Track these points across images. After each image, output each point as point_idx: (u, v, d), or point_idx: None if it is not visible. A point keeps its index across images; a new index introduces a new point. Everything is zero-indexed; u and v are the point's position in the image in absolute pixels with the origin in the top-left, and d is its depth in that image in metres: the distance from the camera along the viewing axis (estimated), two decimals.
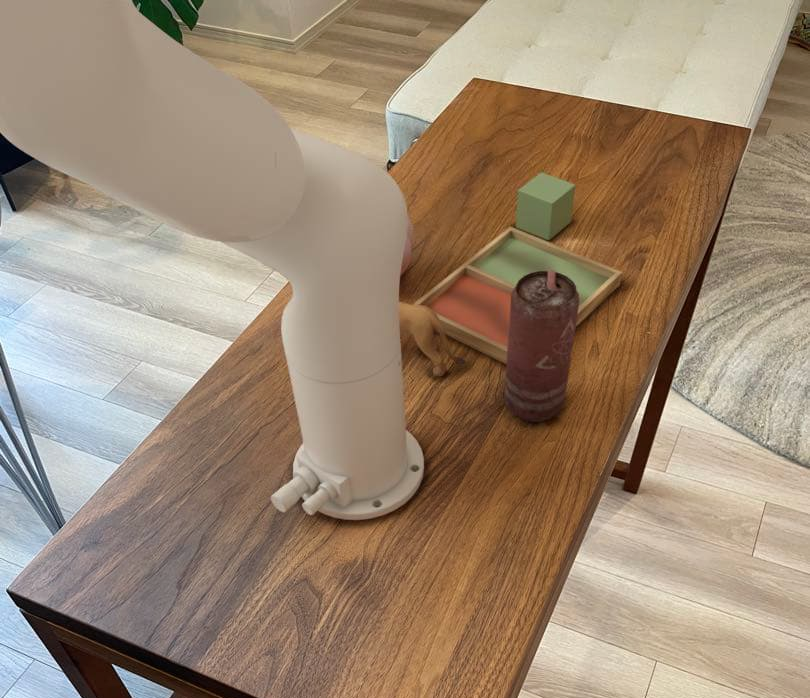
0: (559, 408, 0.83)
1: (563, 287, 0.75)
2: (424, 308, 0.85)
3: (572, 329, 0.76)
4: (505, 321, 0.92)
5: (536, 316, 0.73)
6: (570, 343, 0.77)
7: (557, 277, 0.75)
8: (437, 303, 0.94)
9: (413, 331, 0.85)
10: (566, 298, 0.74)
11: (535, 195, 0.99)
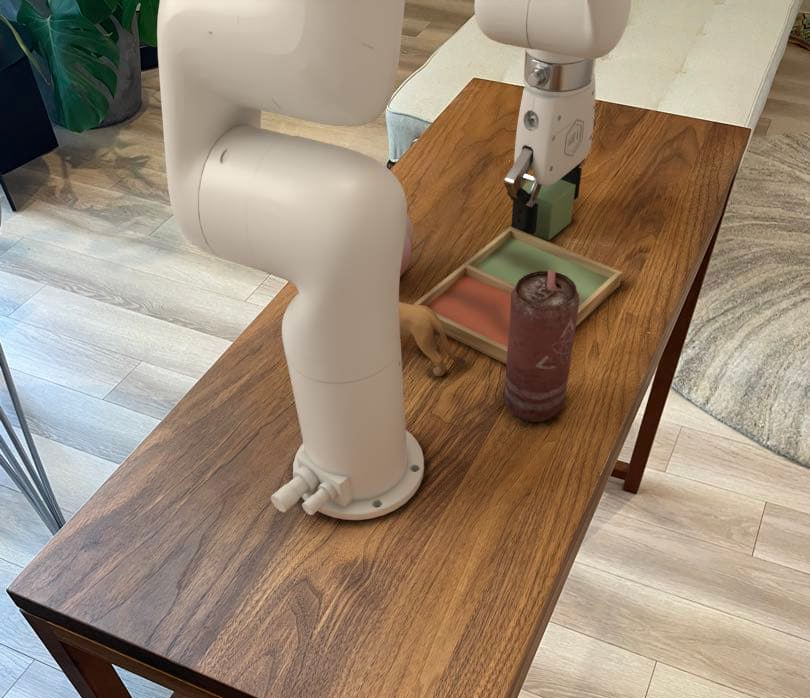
0: (559, 408, 0.83)
1: (563, 287, 0.75)
2: (424, 308, 0.85)
3: (572, 329, 0.76)
4: (505, 321, 0.92)
5: (536, 316, 0.73)
6: (570, 343, 0.77)
7: (557, 277, 0.75)
8: (437, 303, 0.94)
9: (413, 331, 0.85)
10: (566, 298, 0.74)
11: None
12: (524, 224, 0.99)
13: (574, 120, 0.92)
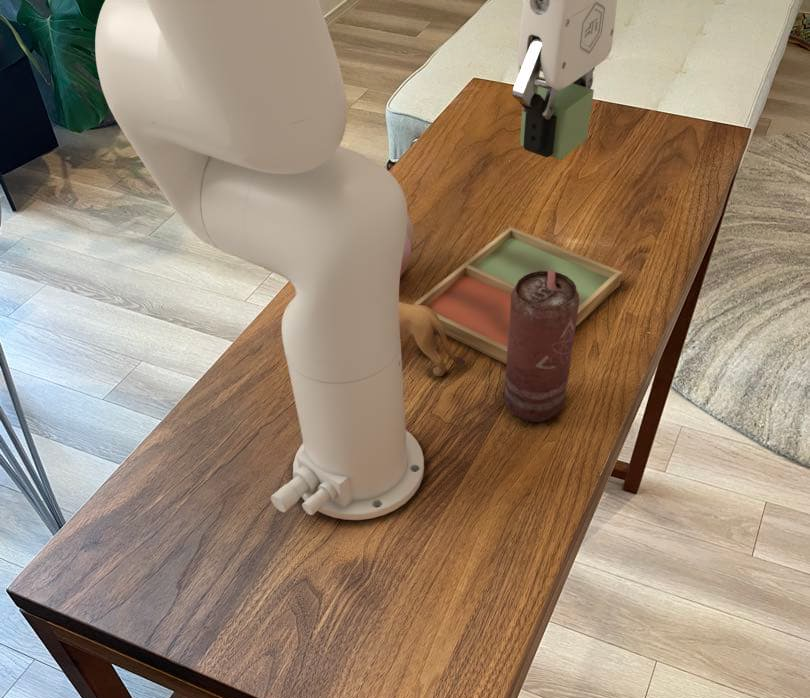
0: (559, 408, 0.83)
1: (563, 287, 0.75)
2: (424, 308, 0.85)
3: (572, 329, 0.76)
4: (505, 321, 0.92)
5: (536, 316, 0.73)
6: (570, 343, 0.77)
7: (557, 277, 0.75)
8: (437, 303, 0.94)
9: (413, 331, 0.85)
10: (566, 298, 0.74)
11: None
12: (539, 142, 0.82)
13: (593, 3, 0.74)
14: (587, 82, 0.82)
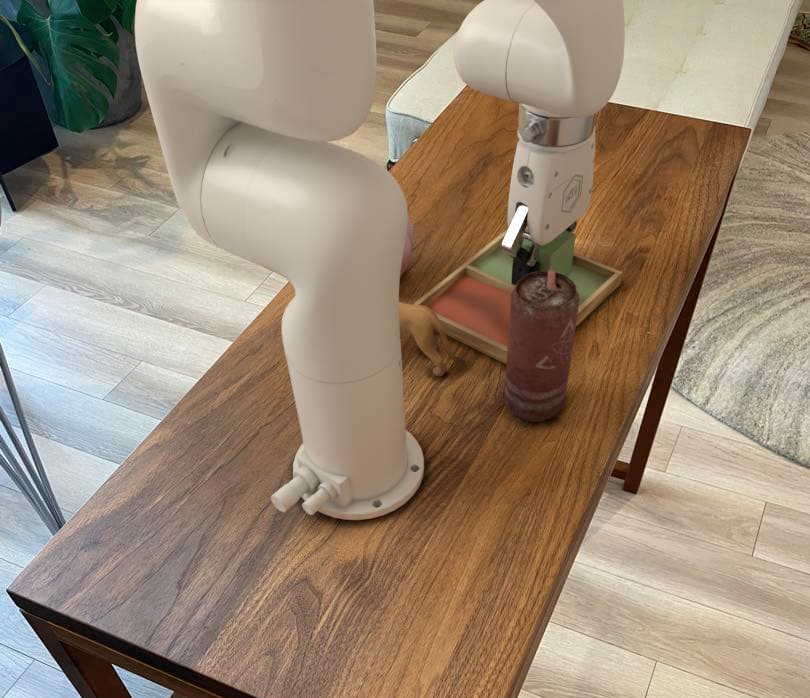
0: (559, 408, 0.83)
1: (563, 287, 0.75)
2: (424, 308, 0.85)
3: (572, 329, 0.76)
4: (505, 321, 0.92)
5: (536, 316, 0.73)
6: (570, 343, 0.77)
7: (557, 277, 0.75)
8: (437, 303, 0.94)
9: (413, 331, 0.85)
10: (566, 298, 0.74)
11: None
12: None
13: (572, 176, 0.85)
14: (571, 226, 0.94)
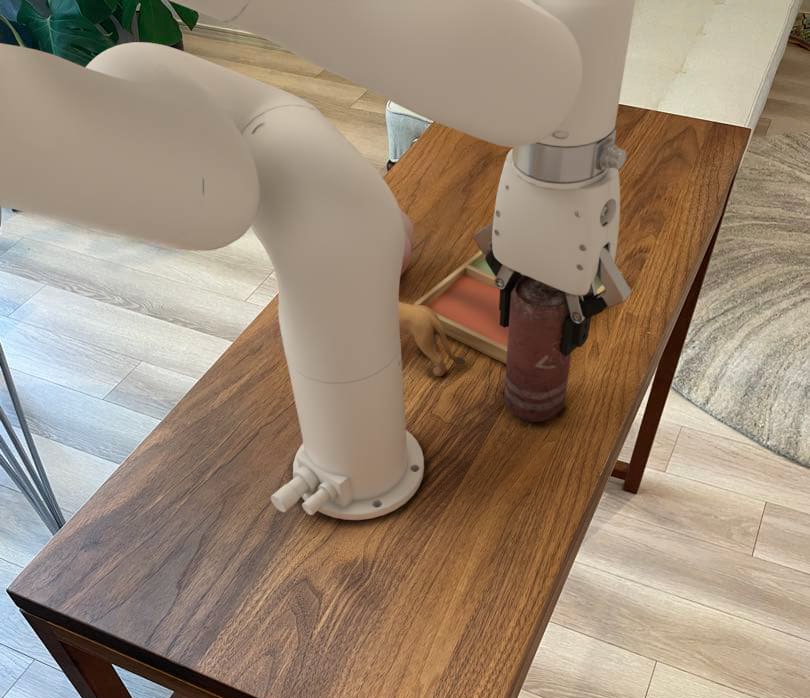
0: (559, 408, 0.83)
1: None
2: (424, 308, 0.85)
3: None
4: None
5: (536, 316, 0.73)
6: None
7: None
8: (437, 303, 0.94)
9: (413, 331, 0.85)
10: None
11: None
12: None
13: None
14: None
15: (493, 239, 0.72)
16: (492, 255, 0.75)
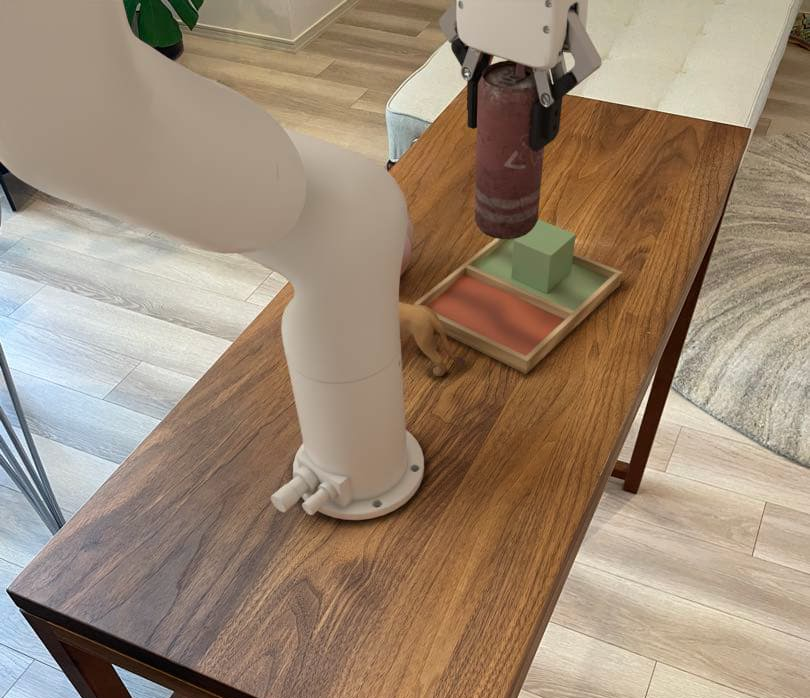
0: (532, 224, 0.79)
1: (532, 74, 0.71)
2: (424, 308, 0.85)
3: None
4: (505, 321, 0.92)
5: (503, 100, 0.69)
6: None
7: (526, 66, 0.72)
8: (437, 303, 0.94)
9: (413, 331, 0.85)
10: (535, 82, 0.70)
11: (532, 246, 0.92)
12: (559, 125, 0.71)
13: None
14: None
15: (457, 15, 0.68)
16: (458, 41, 0.71)
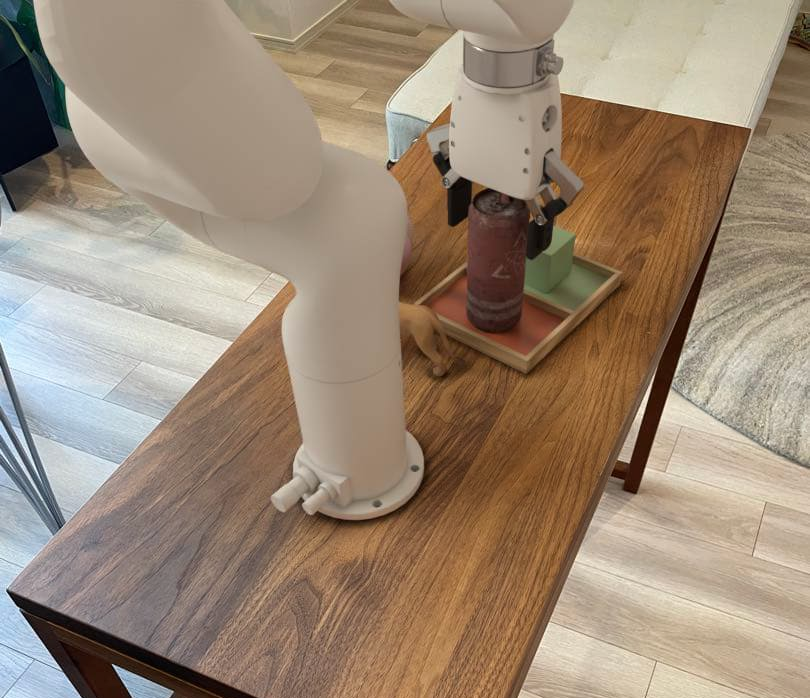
0: (516, 320, 0.90)
1: (515, 200, 0.82)
2: (424, 308, 0.85)
3: (524, 240, 0.83)
4: None
5: (490, 225, 0.80)
6: (523, 254, 0.84)
7: None
8: (437, 303, 0.94)
9: (413, 331, 0.85)
10: (518, 209, 0.81)
11: None
12: (551, 237, 0.81)
13: None
14: None
15: (450, 151, 0.79)
16: (439, 155, 0.82)
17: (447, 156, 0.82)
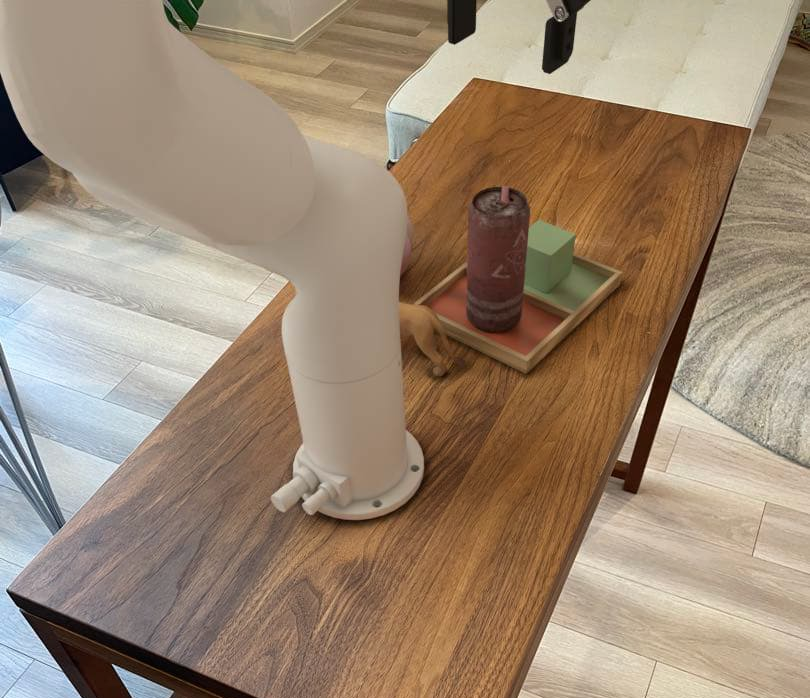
0: (516, 320, 0.90)
1: (515, 200, 0.82)
2: (424, 308, 0.85)
3: (524, 239, 0.83)
4: None
5: (490, 225, 0.80)
6: (523, 254, 0.84)
7: (510, 192, 0.83)
8: (437, 303, 0.94)
9: (413, 331, 0.85)
10: (518, 209, 0.81)
11: (532, 246, 0.92)
12: (573, 45, 0.67)
13: None
14: None
15: None
16: None
17: None
